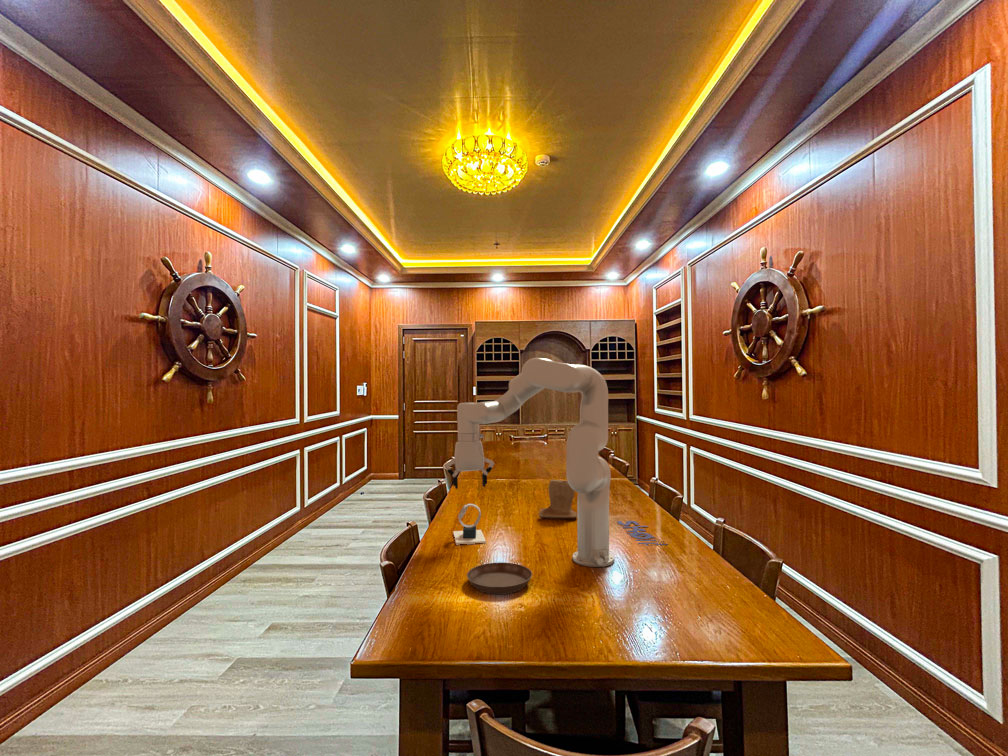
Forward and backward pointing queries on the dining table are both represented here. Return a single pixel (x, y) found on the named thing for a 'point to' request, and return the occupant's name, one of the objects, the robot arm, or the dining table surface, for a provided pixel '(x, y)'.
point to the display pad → (460, 540)
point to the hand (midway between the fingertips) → (470, 487)
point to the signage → (636, 534)
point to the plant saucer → (499, 577)
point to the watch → (468, 530)
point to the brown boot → (559, 501)
